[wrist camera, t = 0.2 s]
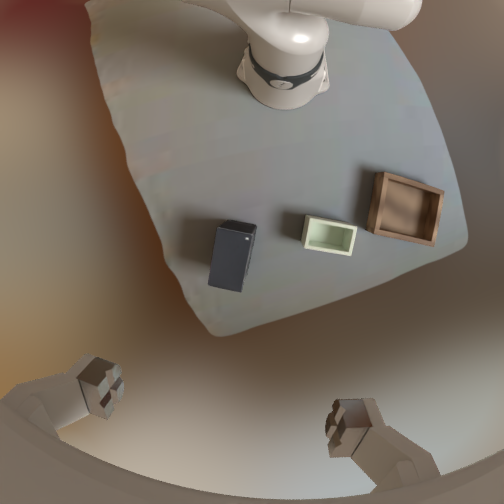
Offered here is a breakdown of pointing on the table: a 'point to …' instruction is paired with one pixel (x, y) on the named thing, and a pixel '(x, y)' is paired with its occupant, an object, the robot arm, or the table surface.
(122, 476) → the robot arm
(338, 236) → the sage crate
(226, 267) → the small box
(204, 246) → the table surface
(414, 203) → the walnut crate
